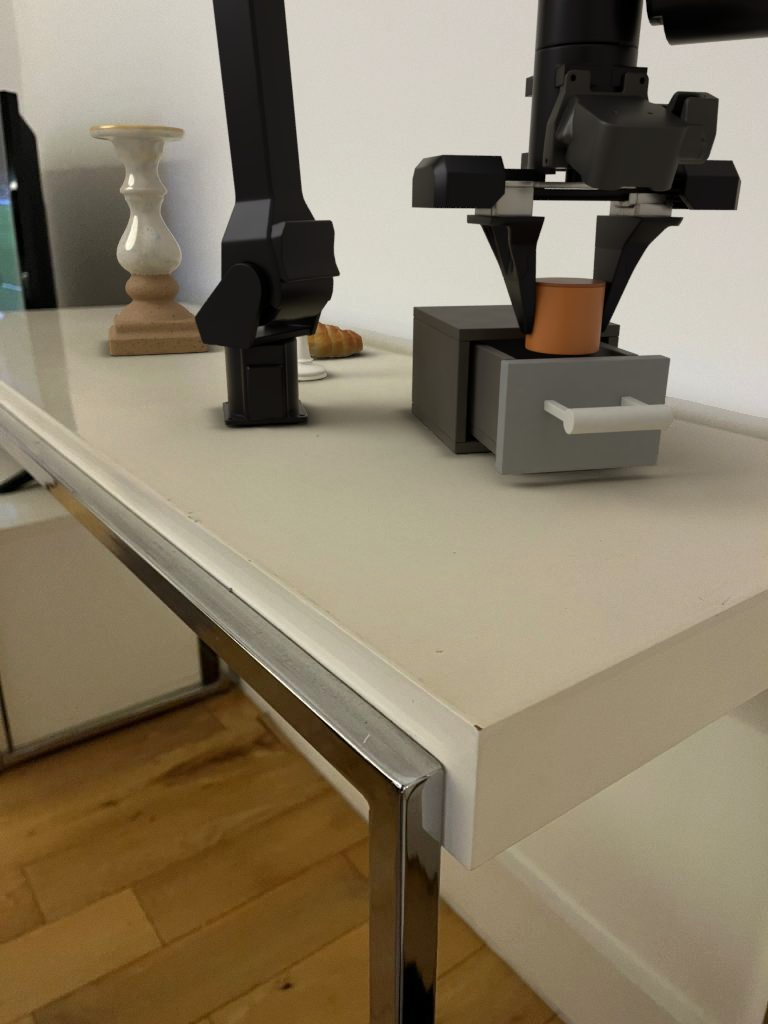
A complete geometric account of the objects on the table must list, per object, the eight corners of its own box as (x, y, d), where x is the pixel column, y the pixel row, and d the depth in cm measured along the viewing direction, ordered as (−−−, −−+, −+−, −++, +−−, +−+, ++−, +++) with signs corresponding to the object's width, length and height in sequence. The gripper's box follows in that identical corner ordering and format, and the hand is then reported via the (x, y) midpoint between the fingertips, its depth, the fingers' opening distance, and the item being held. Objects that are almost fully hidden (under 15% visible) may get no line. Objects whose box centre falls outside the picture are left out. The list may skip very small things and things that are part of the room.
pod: (514, 343, 54) (519, 277, 52) (580, 342, 55) (586, 276, 53) (541, 356, 50) (547, 284, 48) (611, 354, 50) (619, 283, 49)
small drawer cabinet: (607, 445, 60) (620, 324, 56) (454, 453, 57) (459, 329, 54) (541, 405, 71) (548, 303, 68) (411, 411, 69) (413, 306, 66)
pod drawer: (698, 489, 48) (716, 372, 45) (530, 501, 46) (538, 379, 43) (579, 420, 62) (588, 330, 60) (448, 427, 60) (451, 334, 58)
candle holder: (110, 341, 102) (86, 130, 94) (199, 337, 105) (184, 133, 97) (110, 356, 92) (83, 122, 84) (208, 351, 96) (193, 125, 87)
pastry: (358, 348, 98) (357, 316, 97) (367, 359, 92) (367, 324, 90) (279, 350, 96) (277, 317, 95) (283, 361, 90) (282, 326, 89)
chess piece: (333, 378, 81) (331, 274, 78) (285, 382, 80) (281, 275, 76) (318, 369, 86) (316, 270, 82) (272, 372, 84) (268, 271, 80)
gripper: (470, 14, 37) (457, 360, 43) (830, 34, 41) (774, 350, 46) (412, 54, 47) (407, 329, 53) (704, 67, 51) (671, 323, 56)
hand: (562, 332), depth 52 cm, fingers closed on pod, 4 cm apart
